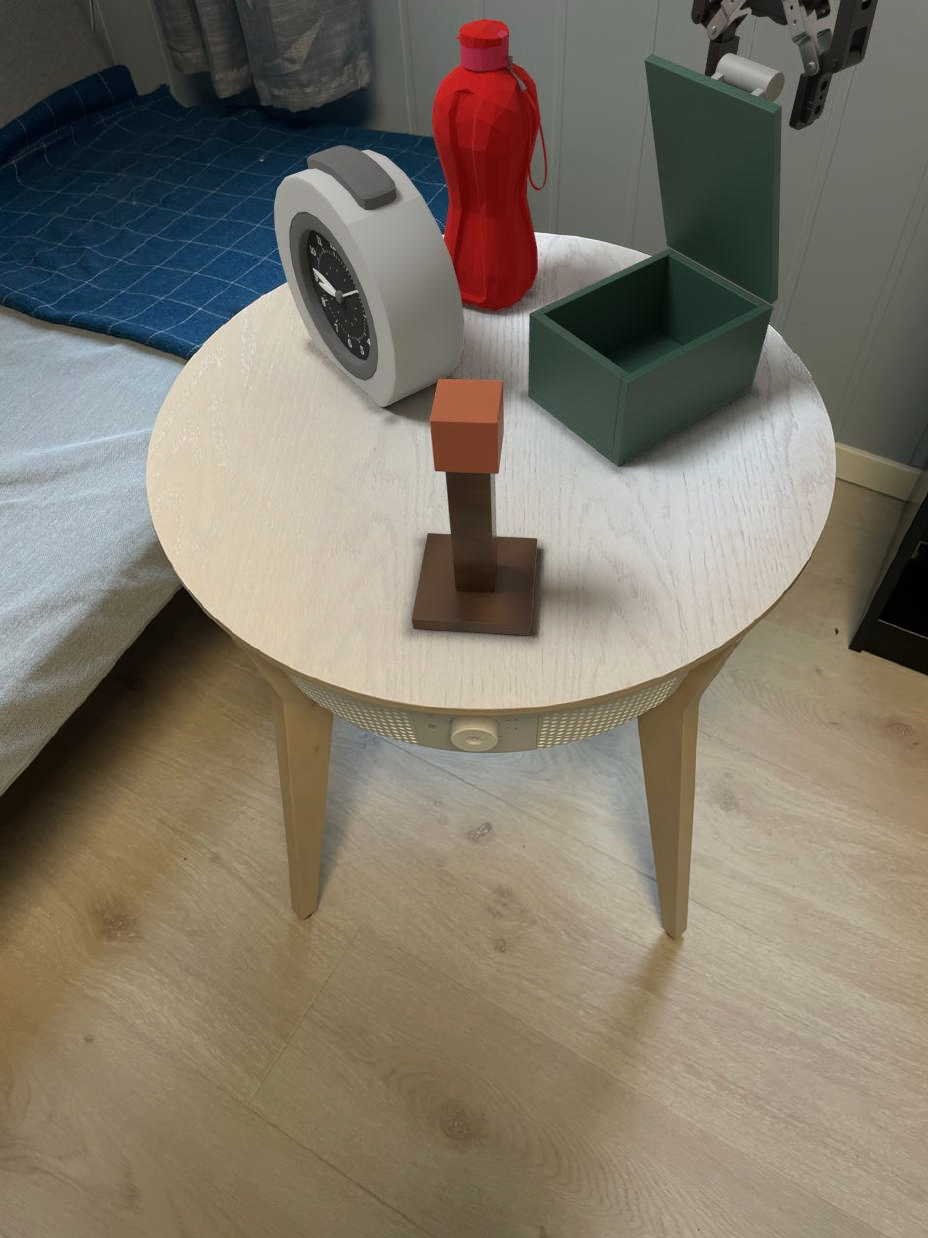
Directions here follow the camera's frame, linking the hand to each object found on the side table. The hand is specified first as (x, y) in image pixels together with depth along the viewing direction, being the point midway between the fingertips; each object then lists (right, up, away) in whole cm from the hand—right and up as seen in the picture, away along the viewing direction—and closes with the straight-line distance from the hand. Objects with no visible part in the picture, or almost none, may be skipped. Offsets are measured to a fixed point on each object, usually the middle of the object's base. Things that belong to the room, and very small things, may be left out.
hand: (757, 108), depth 66 cm
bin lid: (-3, -5, +3) cm, 6 cm away
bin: (-6, -18, +15) cm, 24 cm away
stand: (-22, -37, +1) cm, 43 cm away
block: (-22, -29, -10) cm, 38 cm away
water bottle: (-19, -4, +27) cm, 33 cm away
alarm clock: (-32, -14, +20) cm, 40 cm away
